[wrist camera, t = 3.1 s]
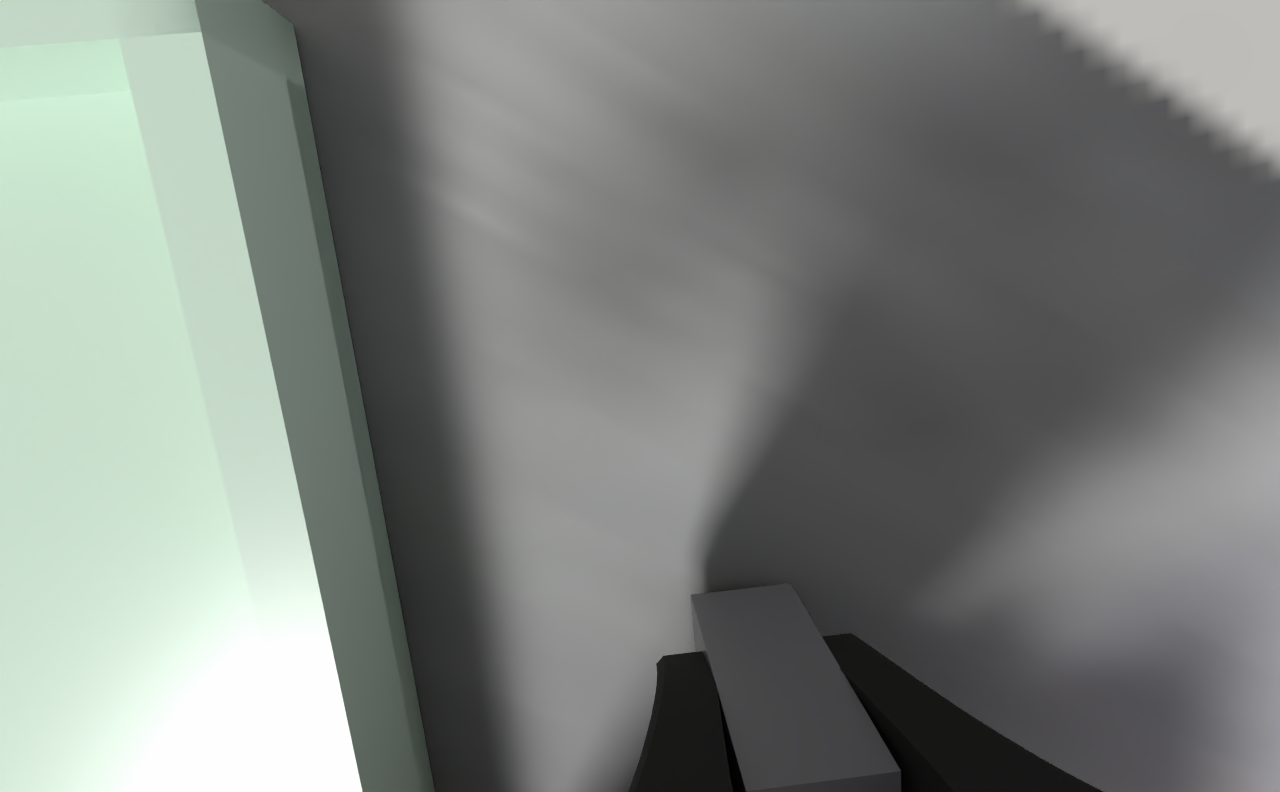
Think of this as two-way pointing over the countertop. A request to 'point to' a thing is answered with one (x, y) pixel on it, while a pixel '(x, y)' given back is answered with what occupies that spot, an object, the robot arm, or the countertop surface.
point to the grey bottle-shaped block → (786, 698)
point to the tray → (183, 423)
